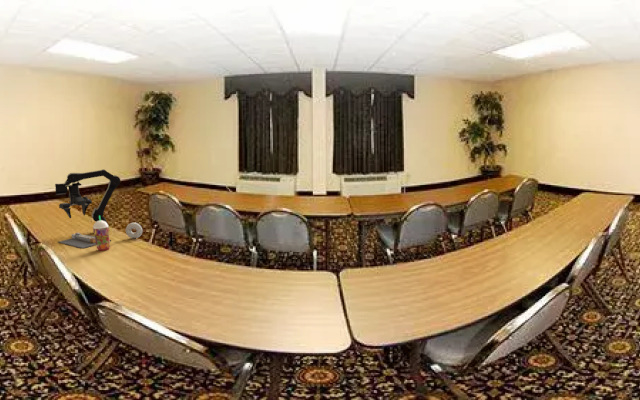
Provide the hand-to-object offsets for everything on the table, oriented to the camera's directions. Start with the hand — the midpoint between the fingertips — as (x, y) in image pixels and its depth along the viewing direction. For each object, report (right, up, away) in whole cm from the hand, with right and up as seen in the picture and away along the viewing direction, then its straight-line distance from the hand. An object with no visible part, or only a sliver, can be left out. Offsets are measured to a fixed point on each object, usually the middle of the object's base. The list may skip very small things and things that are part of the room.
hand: (77, 216), depth 310 cm
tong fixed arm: (+12, -14, -14) cm, 23 cm away
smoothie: (+32, -18, -33) cm, 49 cm away
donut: (+41, -13, -11) cm, 44 cm away
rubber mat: (+12, -15, -15) cm, 24 cm away
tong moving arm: (+13, -14, -16) cm, 25 cm away
